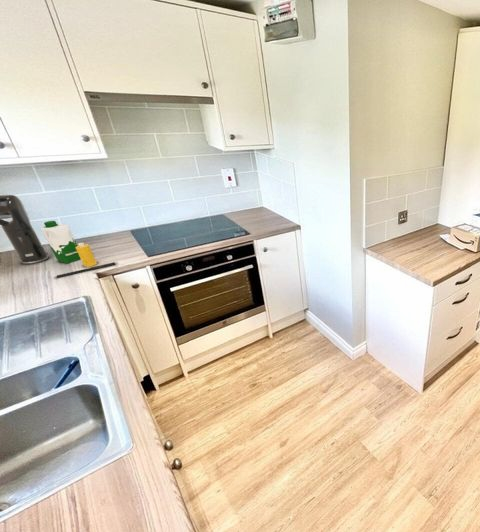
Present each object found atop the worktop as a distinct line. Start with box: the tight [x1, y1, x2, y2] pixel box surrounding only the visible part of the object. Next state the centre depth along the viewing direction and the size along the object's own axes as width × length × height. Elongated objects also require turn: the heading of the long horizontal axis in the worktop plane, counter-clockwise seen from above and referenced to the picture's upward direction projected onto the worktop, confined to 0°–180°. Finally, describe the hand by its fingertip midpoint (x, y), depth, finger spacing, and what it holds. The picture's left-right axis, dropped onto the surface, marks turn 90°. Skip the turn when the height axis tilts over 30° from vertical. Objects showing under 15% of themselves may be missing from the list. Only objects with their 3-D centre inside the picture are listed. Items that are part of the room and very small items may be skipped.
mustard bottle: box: [75, 242, 98, 268], centre depth 157 cm, size 5×5×12 cm
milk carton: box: [39, 220, 81, 264], centre depth 160 cm, size 9×9×20 cm
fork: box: [56, 261, 116, 279], centre depth 155 cm, size 3×21×1 cm, turn 133°
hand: (0, 223), depth 131 cm, fingers open, 8 cm apart
